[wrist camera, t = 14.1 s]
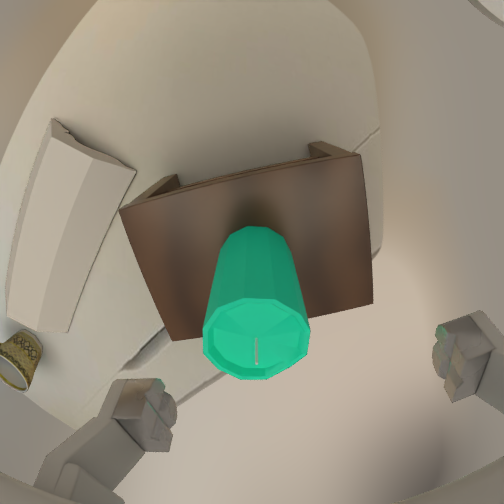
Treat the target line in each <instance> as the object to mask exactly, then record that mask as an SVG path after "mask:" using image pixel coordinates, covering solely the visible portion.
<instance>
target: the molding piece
mask: <svg viewBox="0 0 504 504" xmlns="http://www.w3.org/2000/svg"><path fill="white" fill-rule="evenodd" d="M68 133H69V131H68V130H67V129H64V127H62V125H61V124H60V123H59V122H57V121H56V120H55V119H52V118H51V121H50V123H49V125H48V128H47V130H46V133H45V135H44V138H43V140H42V143H41V145H40V148H39V151H38V154H37V156H36V159H35V162H34V165H33V168H32V171H31V174H30V177H29V180H28V183H27V187H26V190H25V193H24V197H23V201H22V204H21V208H20V212H19V216H18V220H17V224H16V228H15V233H14V237H13V242H12V247H11V253H10V258H9V264H8V270H7V277H6V284H5V294H6V312H7V316H8V317H9V318H11V319H13V320H15V321H17V322H19V323H21V324H22V325H24V326H26V327H28V328H30V329H32V330H34V331H36V332H62V333H67V332H68V329H69V326H70V323H71V320H72V317H73V314H74V311H75V308H76V305H77V303H78V300H79V297H80V295H81V292H82V289H83V287H84V284H85V281H86V279H87V276H88V274H89V271H90V269H91V266H92V264H93V262H94V259H95V257H96V254H97V252H98V250H99V247H100V245H101V243H102V241H103V238H104V236H105V234H106V232H107V230H108V227H109V225H110V223H111V221H112V219H113V217H114V215H115V213H116V210H117V208H118V206H119V204H120V202H121V200H122V198H123V196H124V194H125V192H126V190H127V189H128V187H129V185H130V183H131V181H132V179H133V177H134V175H135V173H136V170H135V169H132V168H129V167H126V166H125V165H123V164H122V163H120V162H119V161H118V160H117V159H115V158H113V157H111V156H109V155H106V154H104V153H101V152H98V151H96V150H93V149H91V148H88V147H86V146H84V145H82V144H80V143H78V142H77V141H76V140H75V139H74V137H72V135H70V134H68Z"/></svg>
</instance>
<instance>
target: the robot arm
mask: <svg viewBox="0 0 504 504" xmlns="http://www.w3.org/2000/svg"><path fill="white" fill-rule="evenodd" d="M435 336H436V338H437V340H438V341H437V343H436V344H435V345H434V347H433V353H432V358H433V365H434V368H435V371H436V373H437V375H438V376H439V377H441V378H443V379H445V384H444V388H445V390H446V392H447V394H448V396H449V398H450V400H451V402H452V403H453V402H456V401H458V400H461V399H463V398H466V397H468V396H471V395H473V394H476V396H478V397H479V398H481V399H482V400H484V401H485V402H487V403H488V404H490V405H491V406H493V407H494V408H496V409H497V410H499V411H500V412H502V413H503V414H504V336H503V335H502V333H501V332H500V331H499V330H498V329H497V328H496V326H495V325H494V324H493V323H492V321H491V320H490V319H489V318H488V317H487V315H486V314H485V313H484V312H483V311H480V310H479V311H476V312H474V313H471V314H468V315H466V316H463V317H460V318H457V319H455V320H452V321H449V322H446V323H443V324H440V325H438V327H437V329H436V334H435ZM164 389H165V385H164V384H163V382H162V381H161V379H157V378H151V379H116V380H115V381H114V382H113V383H112V385H111V387H110V389H109V392H108V394H107V396H106V398H105V401H104V403H103V405H102V407H101V410H100V412H99V414H98V417H97V418H96V417H93V418H92V419H91V420H90V421H89V422H87V423H86V424H85V425H84V426H82V427H81V428H80V429H79V430H78V431H76V432H75V433H74V434H73V435H71V436H70V437H69V438H68V439H66V440H65V441H64V442H63V443H62V444H60V445H59V446H58V447H57V448H55V449H54V450H53V451H52V452H50V453H49V454H48V455H47V456H46V458H45V460H44V462H43V465H42V467H41V469H40V471H39V474H38V476H37V479H36V481H35V483H34V486H30V485H28V484H26V483H23V482H21V481H19V480H17V479H14V478H12V477H10V476H8V475H6V474H4V473H2V472H0V504H124V503H125V502H124V500H123V499H122V498H121V497H119V496H118V495H117V494H115V493H114V492H112V491H113V490H114V489H115V488H116V487H117V485H118V484H119V483H120V482H121V481H122V480H123V478H124V477H125V476H126V475H127V474H128V473H129V472H130V470H131V469H132V468H133V467H134V466H135V465H136V463H137V462H138V461H139V460H140V459H141V458H142V456H143V455H144V454H145V452H169V450H170V445H171V441H172V437H173V434H172V432H171V431H170V428H171V427H172V426H173V425H174V424H175V423H176V419H177V407H176V404H175V401H174V399H173V398H172V396H171V395H170V394H168V393H166V392H165V391H164ZM392 504H504V456H503V457H501V458H499V459H498V460H496V461H494V462H492V463H490V464H488V465H486V466H485V467H483V468H481V469H479V470H477V471H475V472H472V473H470V474H468V475H467V476H464V477H462V478H460V479H457V480H455V481H453V482H451V483H448V484H446V485H443V486H441V487H438V488H436V489H433V490H431V491H428V492H425V493H423V494H420V495H417V496H414V497H411V498H408V499H405V500H402V501H398V502H395V503H392Z"/></svg>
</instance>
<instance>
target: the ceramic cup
mask: <svg viewBox="0 0 504 504" xmlns="http://www.w3.org/2000/svg"><path fill="white" fill-rule="evenodd" d="M42 347H43V346H42V345H41V343H40V342H39V340H38V339H37V337H36V336H35V335H33V334H32V333H30V332H29V331H27V330H21V331H18V332H17V333H16V334H14V335H13V336H12V337H11V338H9V339H8V340H7V341H6V342H4V343H0V379H1V380H2V381H3V382H4V383H5V384H6V385H7V386H9V387H10V388H12V389H14V390H16V391H18V392H22V393H24V392H27V391H28V389H29V387H30V384H31V382H32V379H33V376H34V372H35V370H36V368H37V365H38V363H39V360H40V358H41V355H42Z"/></svg>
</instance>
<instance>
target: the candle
mask: <svg viewBox="0 0 504 504" xmlns="http://www.w3.org/2000/svg"><path fill="white" fill-rule="evenodd" d="M309 337H310V326H309V322H308V318H307V314H306V310H305V306H304V301H303V297H302V293H301V289H300V285H299V281H298V277H297V273H296V269H295V265H294V261H293V258H292V254H291V251H290V249H289V247H288V245H287V243H286V241H285V239H284V237H283V236H281V235H279V234H278V233H276V232H274V231H273V230H271V229H270V228H268V227H257V226H247V227H245V228H242V229H240V230H238V231H236V232H234V233H232V234H230V236H229V237H228V239H227V240H226V242H225V243H224V245H223V246H222V248H221V249H220V253H219V257H218V262H217V266H216V271H215V275H214V279H213V284H212V288H211V293H210V297H209V302H208V306H207V311H206V316H205V320H204V325H203V354H204V355H205V356H206V357H207V358H208V359H209V360H210V361H211V362H212V363H213V364H214V365H215V366H216V367H217V369H219V370H221V371H223V372H225V373H227V374H230V375H232V376H234V377H236V378H238V379H240V380H246V379H247V380H257V379H258V380H259V379H260V380H262V379H268V378H270V377H272V376H274V375H276V374H278V373H280V372H282V371H283V370H285V369H287V368H289V367H291V366H292V365H294V364H295V363H296V362H298V361H299V360H300V359H302V358H303V357H304V356H306V355H307V350H308V344H309Z"/></svg>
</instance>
